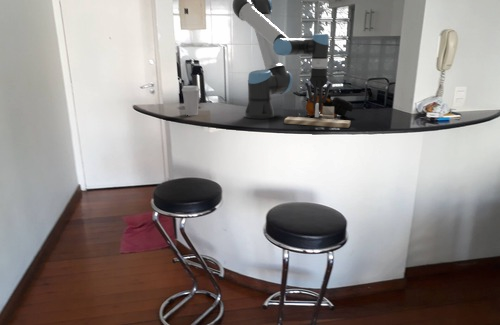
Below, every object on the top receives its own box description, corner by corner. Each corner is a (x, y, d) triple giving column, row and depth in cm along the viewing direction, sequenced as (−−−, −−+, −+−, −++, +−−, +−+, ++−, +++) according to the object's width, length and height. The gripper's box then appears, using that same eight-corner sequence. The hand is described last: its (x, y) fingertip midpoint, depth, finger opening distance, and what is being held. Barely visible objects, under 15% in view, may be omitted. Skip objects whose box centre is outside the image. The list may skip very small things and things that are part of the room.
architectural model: (333, 123, 187) (334, 107, 184) (319, 122, 188) (319, 107, 186) (333, 121, 190) (334, 106, 188) (319, 121, 191) (320, 106, 189)
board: (284, 123, 184) (284, 119, 183) (288, 120, 190) (288, 116, 189) (348, 127, 174) (348, 123, 173) (350, 124, 180) (350, 120, 179)
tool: (341, 132, 198) (354, 105, 192) (301, 113, 202) (313, 86, 196) (342, 128, 206) (355, 103, 200) (303, 110, 209) (315, 85, 203)
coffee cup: (189, 116, 200) (187, 87, 196) (179, 114, 207) (177, 86, 203) (204, 114, 206) (203, 86, 202) (194, 112, 213) (193, 85, 209)
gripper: (304, 68, 183) (302, 117, 190) (331, 68, 178) (328, 118, 185) (307, 67, 189) (305, 114, 196) (334, 67, 185) (331, 116, 192)
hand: (316, 116), depth 191 cm, fingers closed
